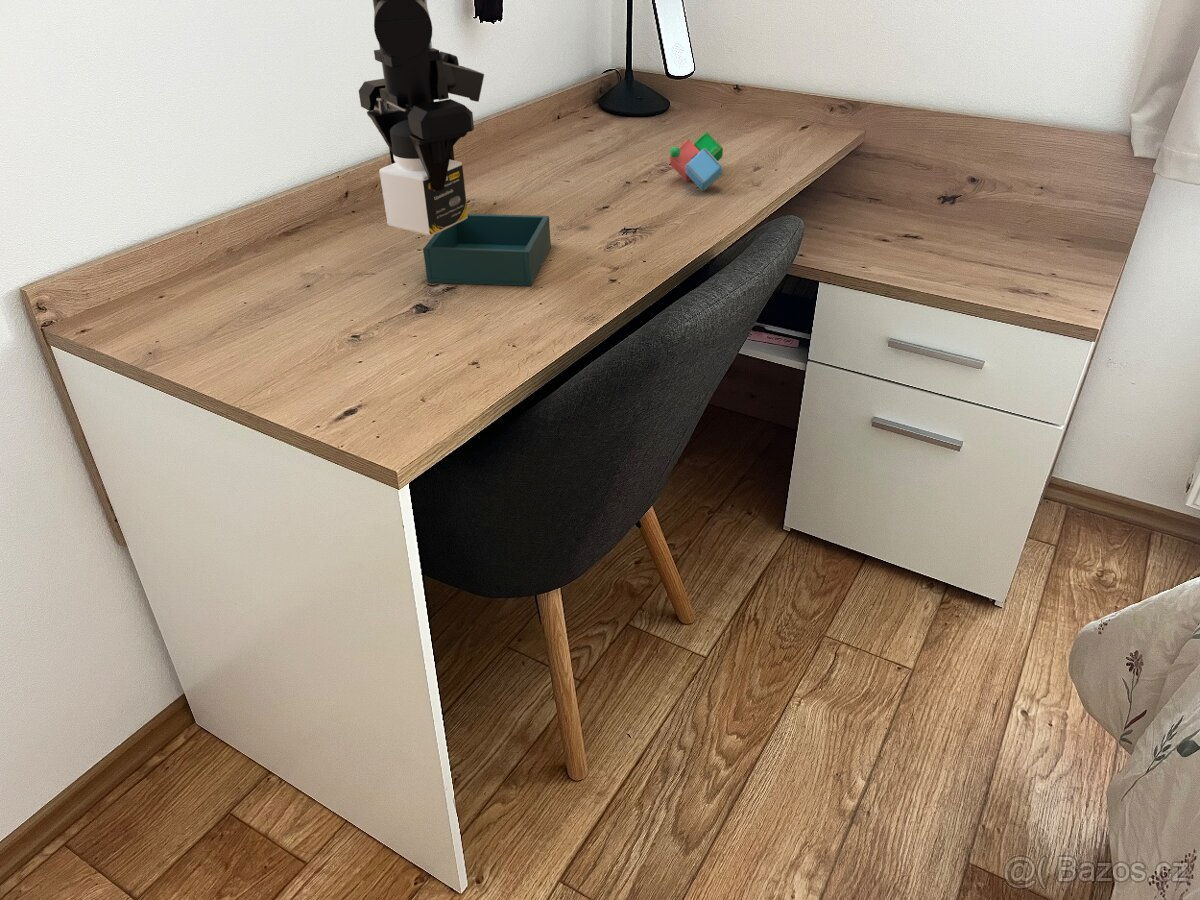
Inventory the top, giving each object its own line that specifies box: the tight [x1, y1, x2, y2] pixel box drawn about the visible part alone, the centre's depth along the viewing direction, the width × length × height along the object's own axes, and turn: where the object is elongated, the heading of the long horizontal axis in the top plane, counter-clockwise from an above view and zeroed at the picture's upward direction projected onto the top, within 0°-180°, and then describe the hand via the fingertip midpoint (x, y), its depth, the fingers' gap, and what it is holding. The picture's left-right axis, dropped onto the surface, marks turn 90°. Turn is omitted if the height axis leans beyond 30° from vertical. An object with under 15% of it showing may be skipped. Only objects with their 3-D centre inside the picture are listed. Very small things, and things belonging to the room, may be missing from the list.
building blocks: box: [669, 131, 724, 192], centre depth 148 cm, size 8×8×12 cm
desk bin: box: [422, 213, 552, 287], centre depth 122 cm, size 13×13×4 cm
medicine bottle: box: [378, 120, 469, 237], centre depth 112 cm, size 7×7×12 cm
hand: (423, 180), depth 112 cm, fingers closed on medicine bottle, 8 cm apart
